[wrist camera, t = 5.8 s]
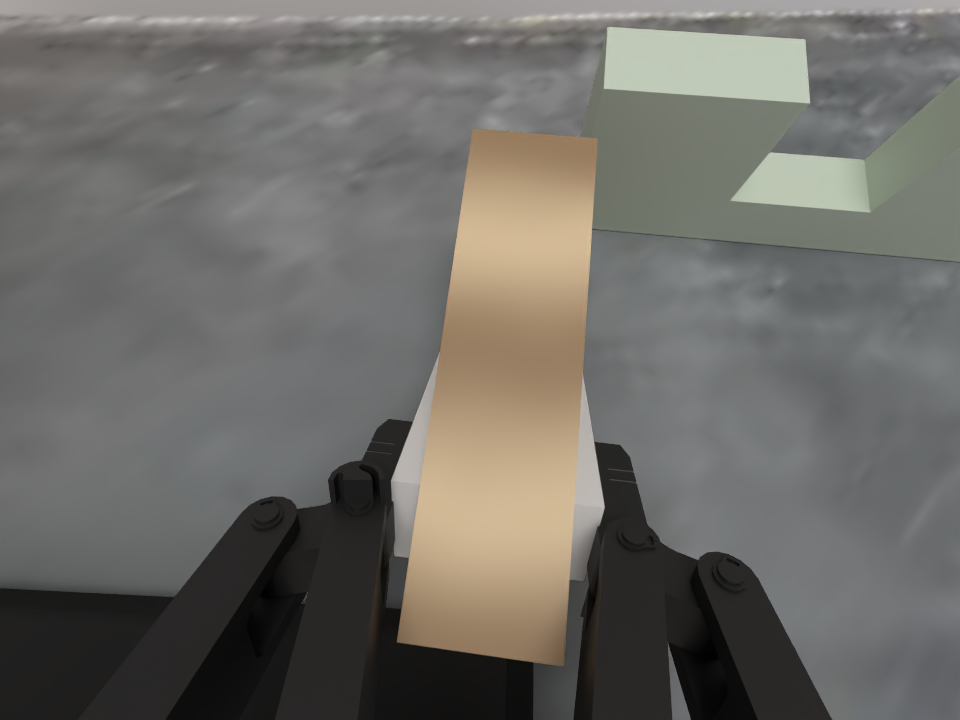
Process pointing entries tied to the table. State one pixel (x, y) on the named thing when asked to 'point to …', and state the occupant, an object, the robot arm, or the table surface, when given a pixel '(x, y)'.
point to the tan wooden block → (506, 406)
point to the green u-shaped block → (758, 152)
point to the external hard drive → (399, 700)
